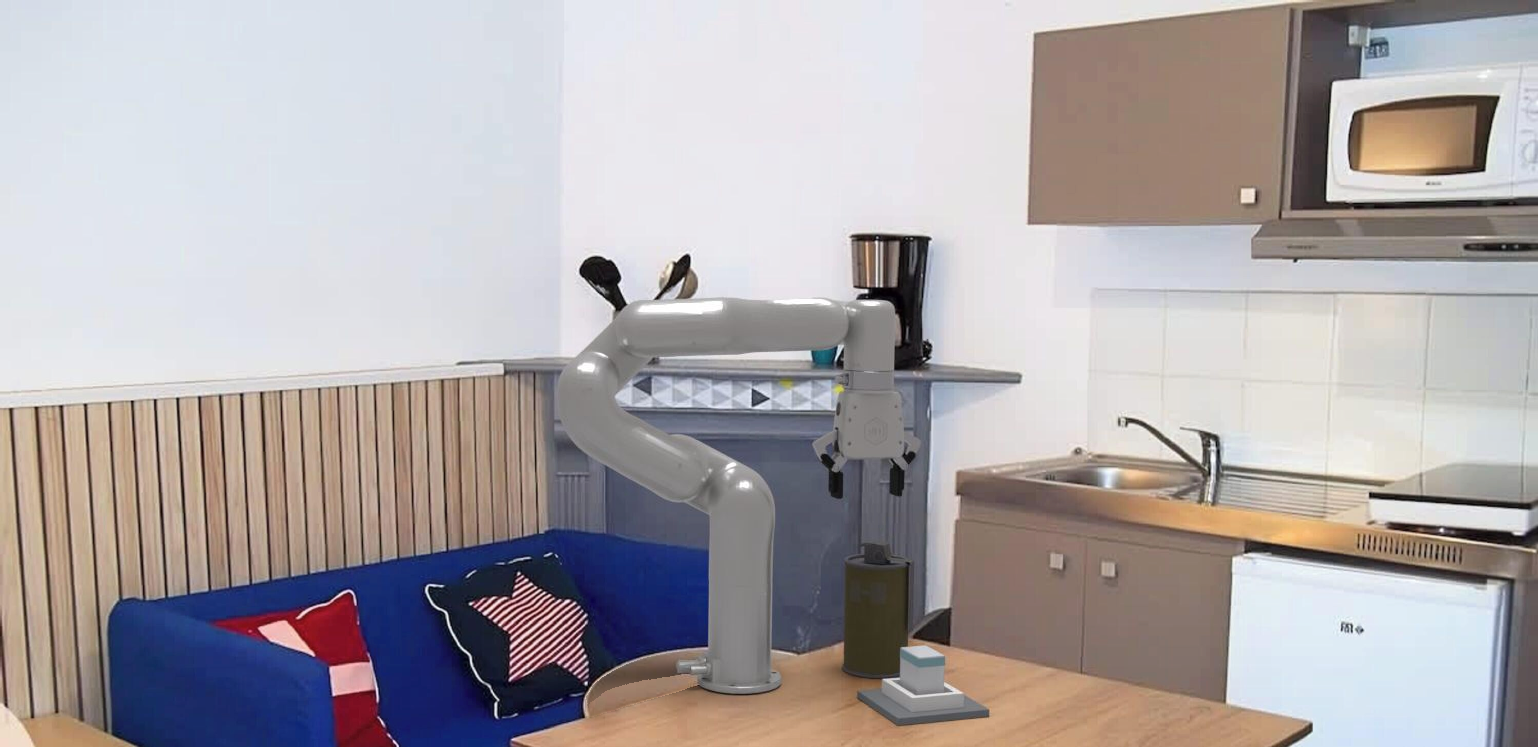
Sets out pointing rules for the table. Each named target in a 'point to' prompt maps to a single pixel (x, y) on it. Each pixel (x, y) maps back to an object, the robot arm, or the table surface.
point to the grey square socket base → (920, 704)
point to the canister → (876, 611)
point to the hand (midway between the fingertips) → (866, 496)
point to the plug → (922, 670)
